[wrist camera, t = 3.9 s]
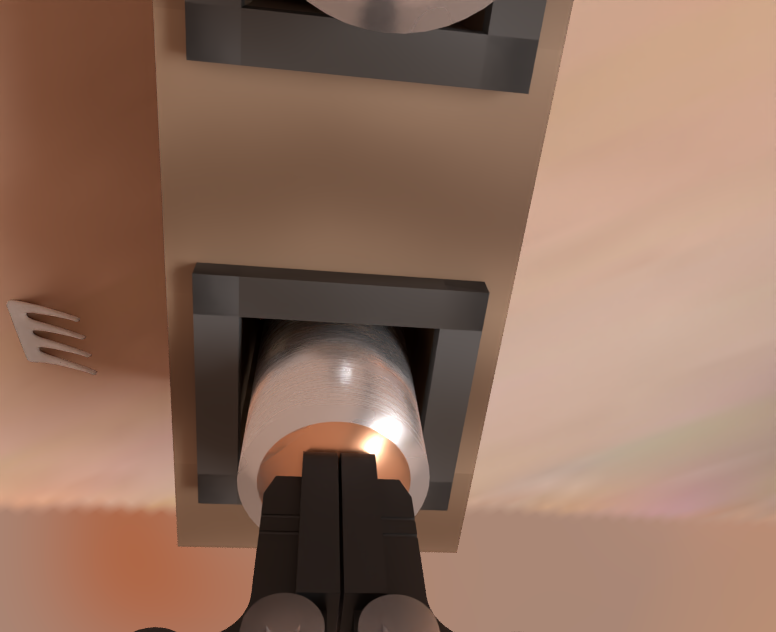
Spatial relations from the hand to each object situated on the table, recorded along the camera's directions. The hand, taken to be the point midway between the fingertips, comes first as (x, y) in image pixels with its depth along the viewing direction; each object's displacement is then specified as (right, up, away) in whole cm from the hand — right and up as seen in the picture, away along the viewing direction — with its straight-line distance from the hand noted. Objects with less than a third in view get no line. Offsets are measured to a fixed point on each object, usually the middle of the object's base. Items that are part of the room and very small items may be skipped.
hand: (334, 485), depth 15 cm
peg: (-1, +4, +8) cm, 9 cm away
